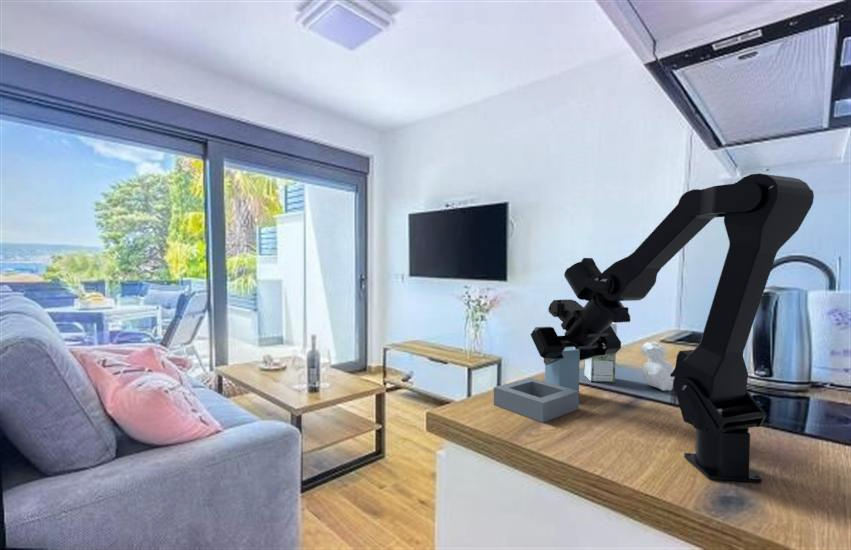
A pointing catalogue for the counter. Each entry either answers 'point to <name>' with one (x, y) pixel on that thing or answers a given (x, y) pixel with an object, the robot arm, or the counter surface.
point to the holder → (536, 399)
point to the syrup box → (601, 365)
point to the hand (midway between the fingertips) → (558, 362)
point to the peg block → (565, 370)
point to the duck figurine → (657, 367)
